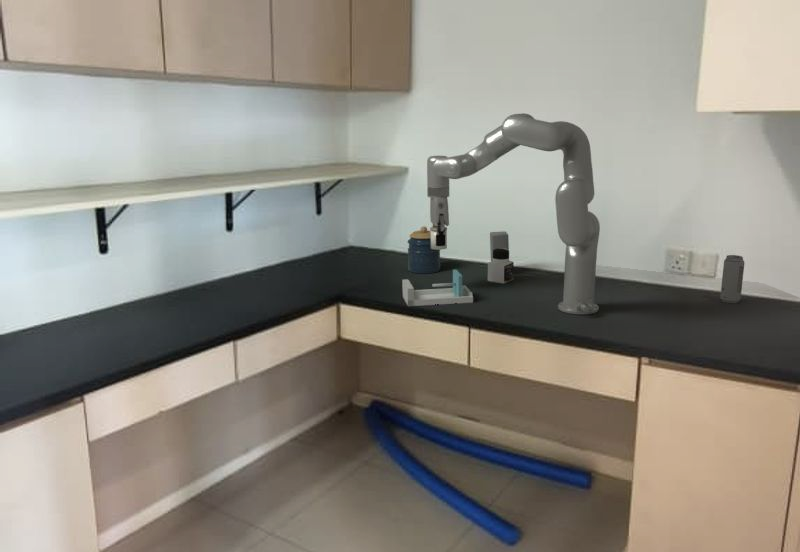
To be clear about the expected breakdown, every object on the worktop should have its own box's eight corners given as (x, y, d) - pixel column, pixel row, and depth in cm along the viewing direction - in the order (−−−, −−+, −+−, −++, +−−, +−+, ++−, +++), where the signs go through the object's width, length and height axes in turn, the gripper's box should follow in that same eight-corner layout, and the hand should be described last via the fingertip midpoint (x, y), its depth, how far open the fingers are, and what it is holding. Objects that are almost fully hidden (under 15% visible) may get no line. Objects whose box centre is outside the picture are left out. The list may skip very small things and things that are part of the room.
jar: (448, 249, 238) (448, 229, 236) (432, 250, 237) (431, 229, 235) (445, 245, 244) (445, 226, 242) (429, 246, 243) (428, 226, 241)
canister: (406, 267, 280) (405, 224, 276) (437, 265, 281) (437, 223, 277) (410, 274, 268) (409, 230, 263) (442, 273, 269) (442, 228, 265)
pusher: (462, 299, 230) (462, 275, 228) (435, 300, 229) (435, 277, 227) (456, 291, 239) (456, 269, 237) (430, 293, 238) (430, 270, 236)
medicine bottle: (504, 284, 252) (504, 252, 249) (487, 281, 256) (487, 249, 253) (513, 279, 257) (514, 248, 254) (496, 277, 262) (497, 246, 259)
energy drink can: (722, 297, 230) (726, 253, 227) (741, 300, 227) (746, 255, 223) (718, 301, 226) (722, 257, 222) (738, 304, 222) (743, 259, 219)
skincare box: (509, 275, 265) (510, 234, 261) (491, 275, 265) (491, 234, 261) (506, 269, 273) (507, 230, 269) (488, 270, 273) (489, 230, 269)
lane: (473, 302, 230) (473, 285, 228) (407, 306, 227) (407, 288, 225) (464, 292, 241) (464, 276, 240) (402, 296, 238) (402, 279, 237)
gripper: (454, 195, 228) (454, 248, 232) (444, 188, 244) (444, 239, 249) (432, 196, 227) (432, 249, 231) (423, 189, 243) (423, 240, 248)
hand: (438, 243), depth 240 cm, fingers closed on jar, 5 cm apart
